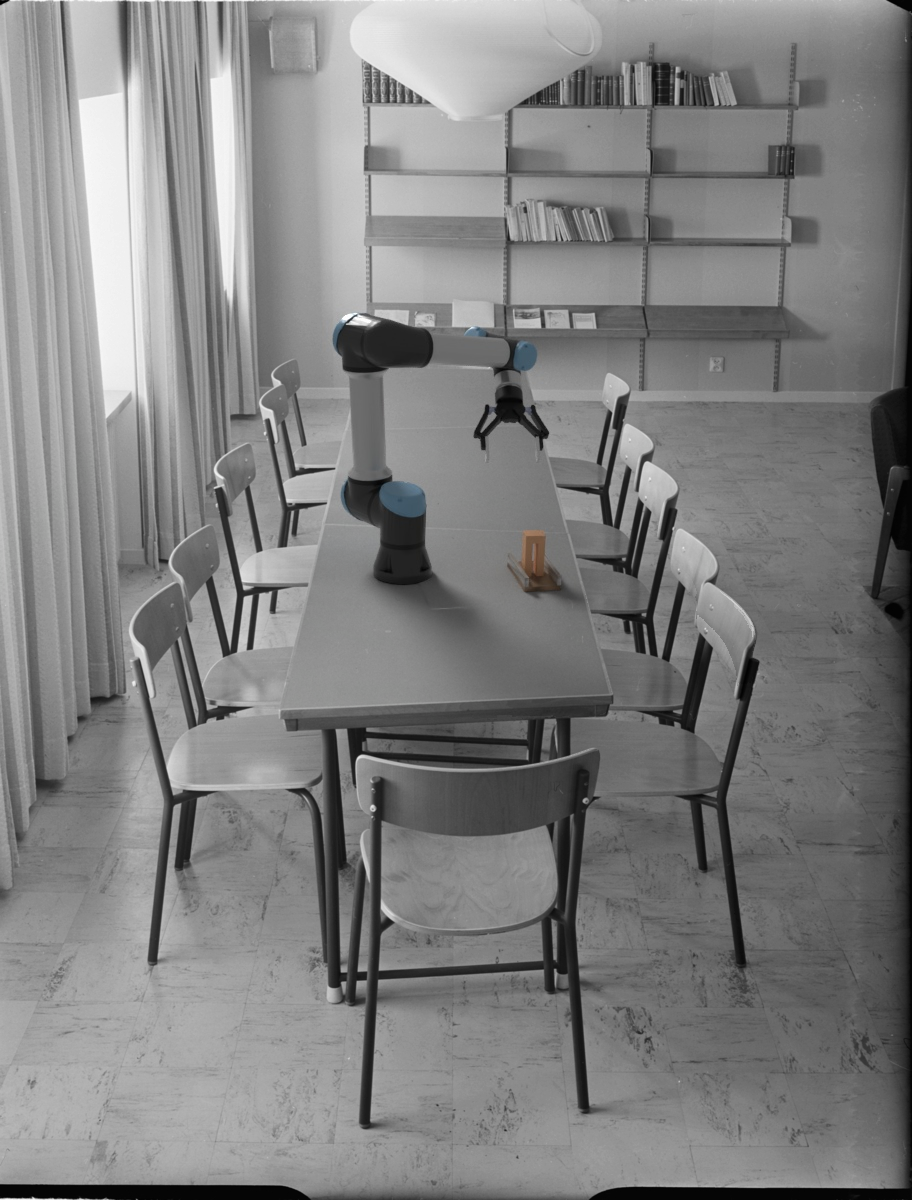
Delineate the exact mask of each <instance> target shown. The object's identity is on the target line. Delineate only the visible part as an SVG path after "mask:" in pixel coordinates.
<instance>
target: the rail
mask: <svg viewBox="0 0 912 1200" xmlns="http://www.w3.org/2000/svg"><path fill="white" fill-rule="evenodd" d="M521 561H522V560H521ZM521 561H518V560H517V559H516V558H515V556H514V554H513V553H512V552H508V553H507V564H506V567H507V569H508V570H509V571H510V572H511V574H512V575H513V577H514V579H515V581H516V582H517V583H518V584H519V586H520V587H521V589H522V590H523V592H525V593H526V592H541V591H542V592H543V591H544V592H545V591H560V590H562V578H563V577H562V575H561V574H560V572H559V571H558V569H557V568H556V567H555V565H554V564H553V563H552V561H550V559H549V557H548V556H546V554H545V557H544V575H543V576H536V574H535V573H534V571H533V563H534V560H532V571H531V576H530V577H528V576H527V574H526V573H525V572H524V570H523V569H522V567H521Z"/></svg>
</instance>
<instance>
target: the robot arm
mask: <svg viewBox="0 0 912 1200" xmlns="http://www.w3.org/2000/svg"><path fill="white" fill-rule="evenodd" d="M331 341H332V346H333V349H334V351H335V352H337V355H339V356H340V357H341V362H342V363H341V364H342V366H341V367H342V371H343V372H344V373H345V374H346V375H347V376H348V384H349V386H348V387H349V405H350V406H349V407H350V425H351V427H350V428H351V447H352V467H351V468H350V470H348V471H347V477H346V479H345V480H344V484H342V485H341V489H340V502H341V505H342V507H343V509H344V510H345V511H346V512H347V513H348V514H349V515H351V516H352V517H353V518H355V519H356V520H358V521H361V522H364V523H365V524H368V525H371V526H373V527H376V528H378V529H379V548H378V551H377V554H376V557H375V560H374V562H373V566H372V567H373V568H372V569H373V572H372V573H373V577H375V578H376V579H377V580H379V581H381V582H384V583H389V584H395V585H411V584H412V585H413V584H418V583H422V582H425V581H427V580H428V579H430V578H431V576H432V574H433V573H432V571H433V570H432V569H433V568H432V566H433V565H432V563H431V559H430V556H429V554H428V550H427V547H426V531H427V530H426V529H427V528H426V525H427V522H426V521H427V505H428V504H427V500H426V497H427V496H426V494H425V491H424V490H423V489H422V488H421V487H420V486H418V485H417V484H415V483H412V482H406V481H402V480H393V479H394V478H393V471H392V469H391V468H389V466H387V451H386V424H385V421H386V419H385V401H384V400H385V398H384V397H385V395H384V394H385V393H384V375H385V374H386V372H388V371H389V369H403V368H404V369H411V368H412V369H413V368H415V369H416V368H417V369H423V368H426V367H427V366H429V365H439V366H440V365H441V366H463V367H481V368H484V367H485V368H491V369H492V370H493V379H494V380H493V381H494V384H493V385H494V397H495V398H494V402H495V405H494V406H490V404H488V403H487V404H485V405H484V409H483V410H484V411H483V414H482V415H481V417H480V420H479V421H478V423H477V425H476V427H475V429H474V432H473V434H472V435H473V436H472V437H473V439H479V441H480V442H479V443H480V450H481V451H484V455H485V456H484V459H485V460H484V461H485V463H486V464H487V463H489V461H490V444H489V443H490V442H489V435H490V434H491V433H492V432H493V431H494V430H495V429H496V427H498V425H500V424H501V423H502V422H503V423H504V424H510V423H511V424H516V423H518V424H519V425H520V426H522V427H523V428H524V429H525V430H526V431H527V432H529V434H530V435H531V436H532V437H534V438H535V439H534V453H535V463H536V464H539V463H540V460H541V452H542V451H543V449H544V440H547V439H548V438H549V435H550V431H549V429H548V428H547V426H546V425H545V423H544V422H543V420H542V418H541V417H540V415H539V413H537V408H536V406H535V404H531V405H530V406H527V407H525V405H524V397H523V394H524V393H523V382H522V381H523V380H522V372H526V371H527V372H529V371H530V370H531V369H533V367H534V366H535V365H536V363H537V359H538V350H537V347H536V346H535V345H534V344H533V343H531V342H529V341H526V340H521V339H518V338H517V339H516V338H513V337H508V336H503V335H500V334H499V335H498V334H494V333H492V332H488V331H487V330H486V329H485V328H481V327H479V326H478V325H477V326H476V325H475V326H471V327H469V328H468V329H467V330H466V331H465V332H464V334H463V335H461V334H451V333H450V334H448V333H436V332H435V333H434V332H431V331H430V330H429V329H427V328H424V327H415V326H413V325H408V324H405V323H401V322H399V321H396V320H393V319H389V318H384V317H380V316H376V315H372V314H370V313H367V312H351V313H348V314H346V315H344V316H343V317H342V318H341V319H340V320H339V321H338V322H337V324H336V325H335V327H334V329H333V332H332V340H331ZM492 413H494V414H495V418H493V420H492V421H491V422H490V423H489V424H488V425H487V426H486V428H485V429H483V428H484V426H485V424H486V422H487V420H488V418H489V416H490V415H492ZM525 413H527V415H528V416H530V418H531V420H532V422H533V423H534V424H535V425H534V424H533V423H532V422H531V421H530V420H529V419H528V418H527V416H526V415H525ZM482 430H483V431H482Z"/></svg>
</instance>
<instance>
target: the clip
mask: <svg viewBox="0 0 912 1200" xmlns="http://www.w3.org/2000/svg"><path fill="white" fill-rule="evenodd" d="M546 537H547V536H546V534H545V532H544V531H543V529H536V530H535V529H532V530H530V529H527V530H522V539H521V541H522V542H521V543H522V545H521V567H522V569H523V570H524V572H525V573H526V574H527V576H528V577H530V576H531V571H532V561H534V563H533V571H534V573H535V574H536V576H543V575H544V557H545V555H546V554H545V553H546ZM533 549H534V550H533Z"/></svg>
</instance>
